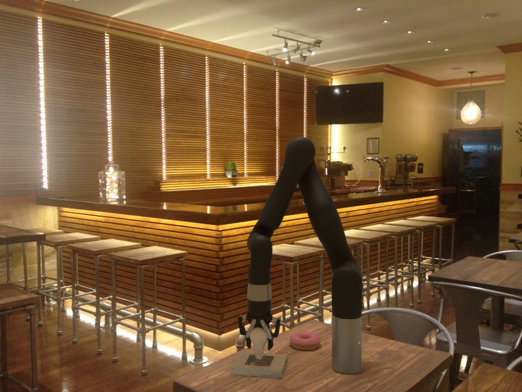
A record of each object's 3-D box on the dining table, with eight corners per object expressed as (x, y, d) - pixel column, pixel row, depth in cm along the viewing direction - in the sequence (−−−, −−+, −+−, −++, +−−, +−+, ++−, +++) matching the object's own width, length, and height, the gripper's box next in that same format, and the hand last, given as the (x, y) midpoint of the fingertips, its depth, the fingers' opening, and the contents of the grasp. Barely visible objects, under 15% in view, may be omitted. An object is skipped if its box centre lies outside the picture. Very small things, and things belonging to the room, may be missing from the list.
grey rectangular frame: (287, 362, 155) (287, 354, 155) (281, 378, 144) (281, 370, 144) (239, 358, 159) (239, 351, 158) (230, 374, 147) (230, 366, 147)
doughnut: (300, 354, 162) (300, 342, 162) (283, 343, 172) (283, 332, 171) (326, 348, 167) (326, 336, 167) (309, 338, 177) (309, 327, 176)
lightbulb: (246, 361, 150) (245, 327, 149) (255, 354, 155) (255, 321, 154) (263, 365, 147) (263, 330, 146) (272, 357, 152) (272, 324, 152)
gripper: (283, 294, 152) (283, 346, 153) (240, 292, 155) (240, 342, 156) (280, 301, 144) (280, 355, 146) (234, 298, 147) (234, 351, 149)
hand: (259, 348), depth 151 cm, fingers closed on lightbulb, 6 cm apart
